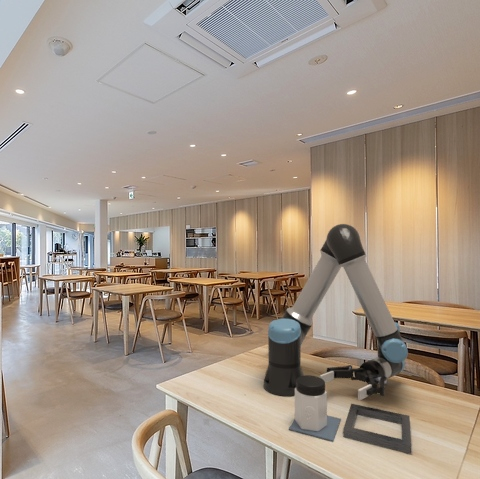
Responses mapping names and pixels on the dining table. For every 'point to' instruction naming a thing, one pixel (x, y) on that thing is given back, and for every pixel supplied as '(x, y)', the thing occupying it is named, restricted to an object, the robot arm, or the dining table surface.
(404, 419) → the frame
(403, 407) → the dining table surface
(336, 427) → the mat
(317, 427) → the jar
